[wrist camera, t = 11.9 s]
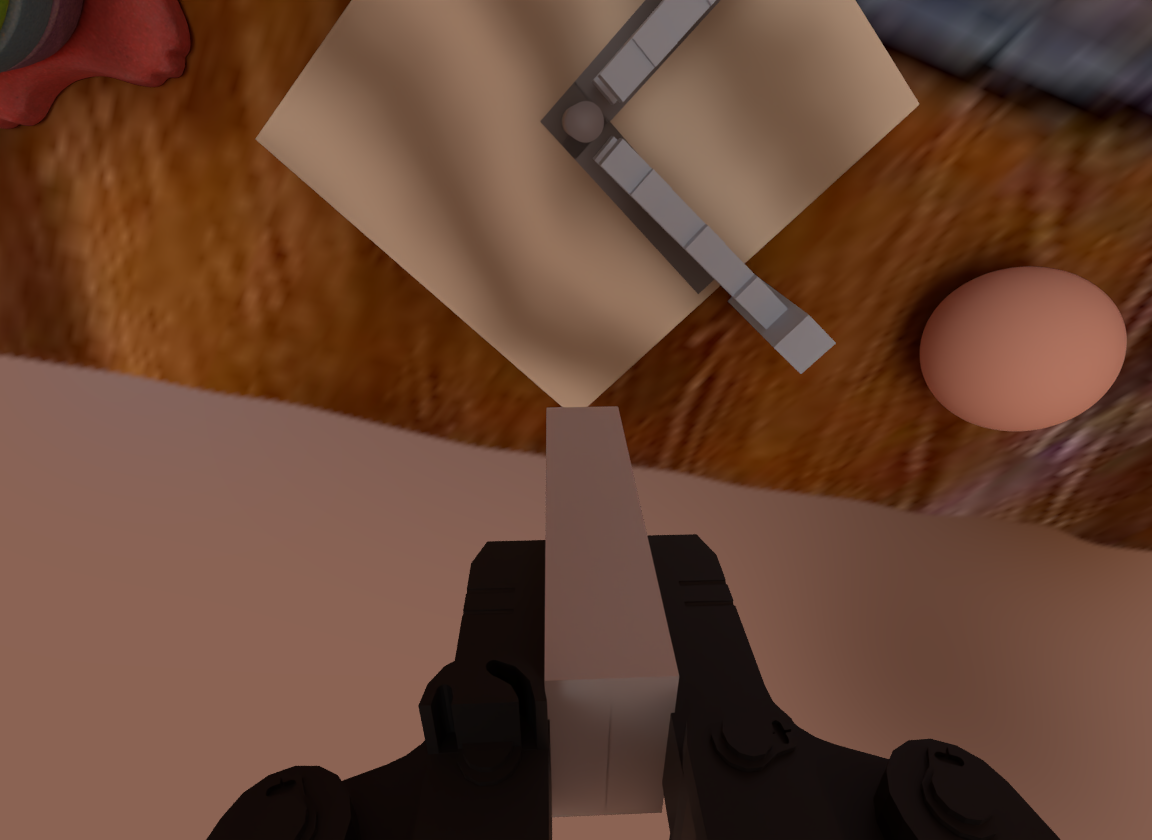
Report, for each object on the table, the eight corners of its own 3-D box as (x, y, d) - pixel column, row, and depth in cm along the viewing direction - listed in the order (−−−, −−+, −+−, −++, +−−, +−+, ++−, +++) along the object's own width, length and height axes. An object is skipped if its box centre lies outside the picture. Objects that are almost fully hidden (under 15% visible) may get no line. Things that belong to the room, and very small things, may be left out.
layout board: (615, -371, 20) (618, -387, 19) (912, 104, 27) (920, 104, 26) (261, 138, 26) (254, 139, 26) (574, 413, 33) (575, 418, 33)
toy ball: (1002, 392, 34) (1121, 462, 27) (873, 390, 34) (960, 462, 26) (1057, 251, 30) (1212, 291, 23) (914, 248, 30) (1027, 287, 23)
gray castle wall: (586, 162, 26) (598, 175, 20) (614, 129, 26) (634, 132, 20) (750, 323, 30) (801, 374, 24) (777, 297, 30) (836, 343, 24)
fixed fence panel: (771, -136, 22) (875, -257, 15) (797, -93, 23) (910, -189, 16) (551, 116, 26) (552, 114, 19) (579, 147, 26) (591, 158, 19)
